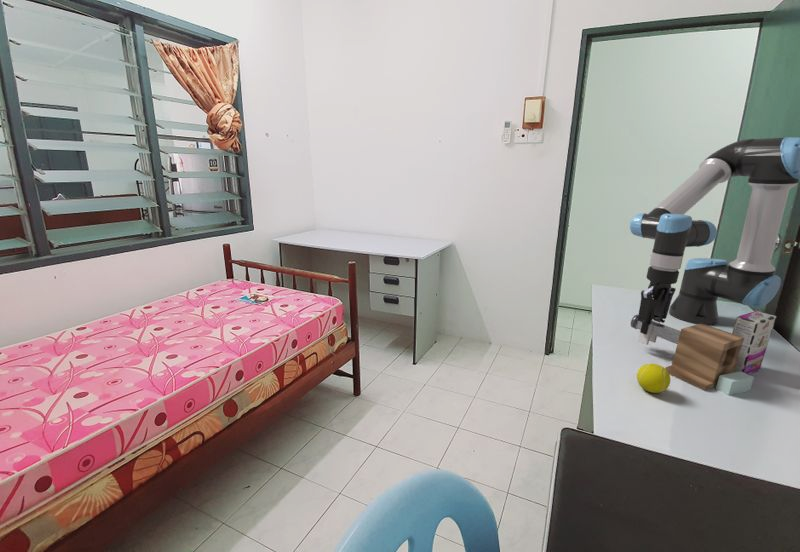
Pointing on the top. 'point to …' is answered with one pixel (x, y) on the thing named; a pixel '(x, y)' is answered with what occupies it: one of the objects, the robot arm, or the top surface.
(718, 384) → the block
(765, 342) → the candy bar box
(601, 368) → the top surface
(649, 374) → the tennis ball
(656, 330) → the shaft
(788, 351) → the top surface
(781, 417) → the top surface
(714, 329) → the bearing block
